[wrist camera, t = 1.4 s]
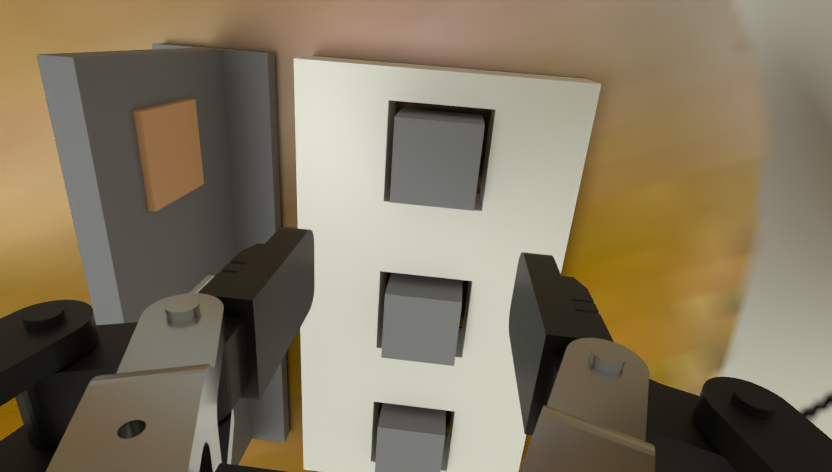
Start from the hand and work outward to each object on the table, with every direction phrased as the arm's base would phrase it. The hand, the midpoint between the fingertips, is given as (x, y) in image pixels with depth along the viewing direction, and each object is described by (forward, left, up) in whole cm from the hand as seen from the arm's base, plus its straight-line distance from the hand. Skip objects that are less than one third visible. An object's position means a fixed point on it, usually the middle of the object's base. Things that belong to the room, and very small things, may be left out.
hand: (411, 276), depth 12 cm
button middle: (+9, 0, -14) cm, 17 cm away
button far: (+18, 0, -14) cm, 23 cm away
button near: (0, 0, -14) cm, 14 cm away
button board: (+9, 0, -15) cm, 18 cm away
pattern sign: (+9, -12, -15) cm, 22 cm away
